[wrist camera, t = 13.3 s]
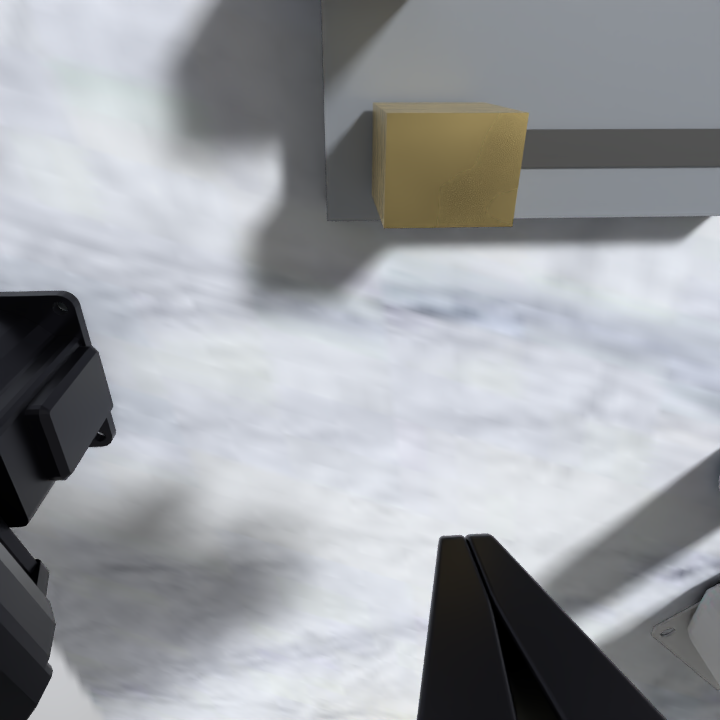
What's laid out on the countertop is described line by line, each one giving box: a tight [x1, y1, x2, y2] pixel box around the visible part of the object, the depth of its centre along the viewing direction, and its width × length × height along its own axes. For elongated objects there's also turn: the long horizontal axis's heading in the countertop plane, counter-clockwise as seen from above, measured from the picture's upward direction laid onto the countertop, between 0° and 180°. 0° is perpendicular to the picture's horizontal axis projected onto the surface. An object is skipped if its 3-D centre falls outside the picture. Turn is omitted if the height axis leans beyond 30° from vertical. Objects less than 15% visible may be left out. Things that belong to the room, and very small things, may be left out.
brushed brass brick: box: [372, 102, 529, 228], centre depth 13 cm, size 3×2×4 cm
